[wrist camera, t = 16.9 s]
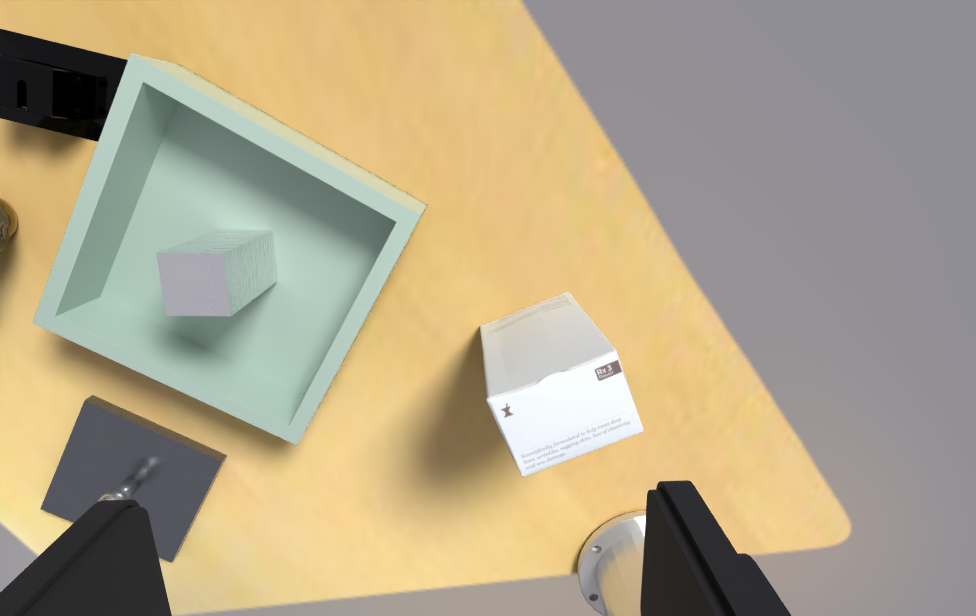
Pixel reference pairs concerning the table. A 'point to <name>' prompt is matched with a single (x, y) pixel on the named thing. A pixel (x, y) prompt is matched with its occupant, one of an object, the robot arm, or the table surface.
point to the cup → (6, 223)
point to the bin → (212, 206)
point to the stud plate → (133, 472)
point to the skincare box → (555, 384)
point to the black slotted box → (56, 85)
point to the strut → (217, 272)
